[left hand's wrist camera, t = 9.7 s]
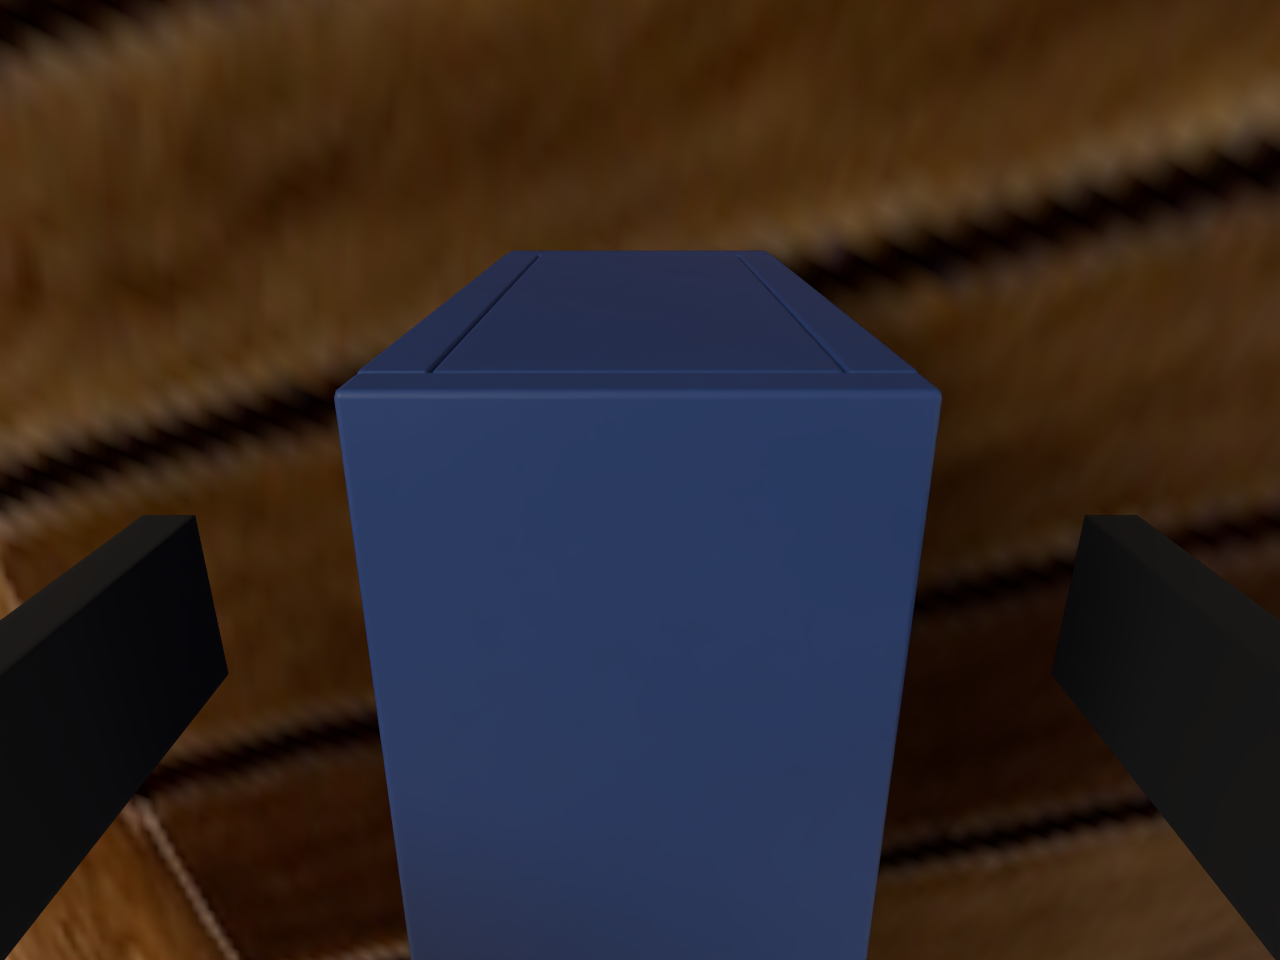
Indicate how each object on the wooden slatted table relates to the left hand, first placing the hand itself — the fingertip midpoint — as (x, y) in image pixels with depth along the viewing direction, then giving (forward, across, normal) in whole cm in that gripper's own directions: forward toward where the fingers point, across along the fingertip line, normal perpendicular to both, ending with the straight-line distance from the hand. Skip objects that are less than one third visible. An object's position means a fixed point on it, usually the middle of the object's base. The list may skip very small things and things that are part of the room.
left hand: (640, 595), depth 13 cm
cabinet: (+7, 0, -5) cm, 9 cm away
